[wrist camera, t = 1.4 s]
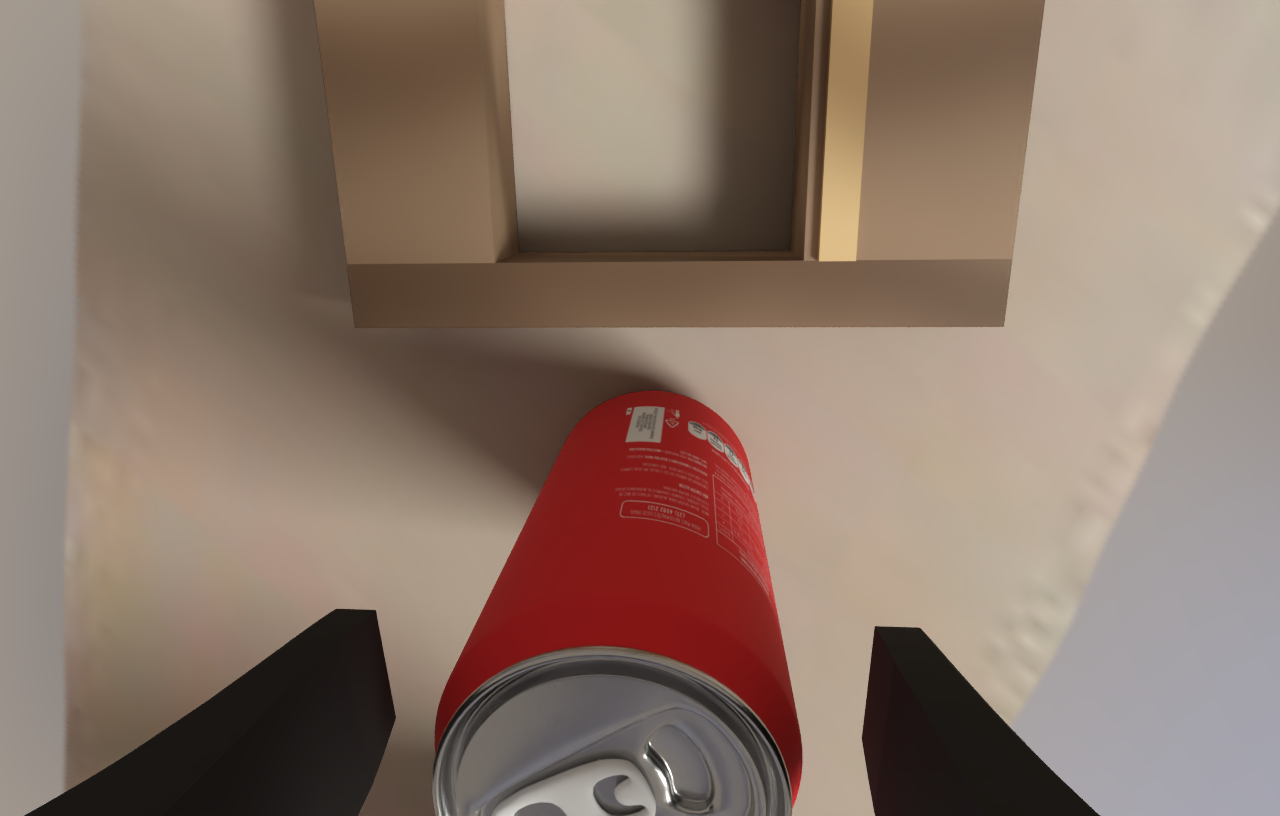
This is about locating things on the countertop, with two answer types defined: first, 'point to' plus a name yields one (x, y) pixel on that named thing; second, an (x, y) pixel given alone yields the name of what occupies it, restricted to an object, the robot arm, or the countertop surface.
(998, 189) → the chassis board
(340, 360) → the countertop surface
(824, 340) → the countertop surface
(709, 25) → the countertop surface
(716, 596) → the beverage can
